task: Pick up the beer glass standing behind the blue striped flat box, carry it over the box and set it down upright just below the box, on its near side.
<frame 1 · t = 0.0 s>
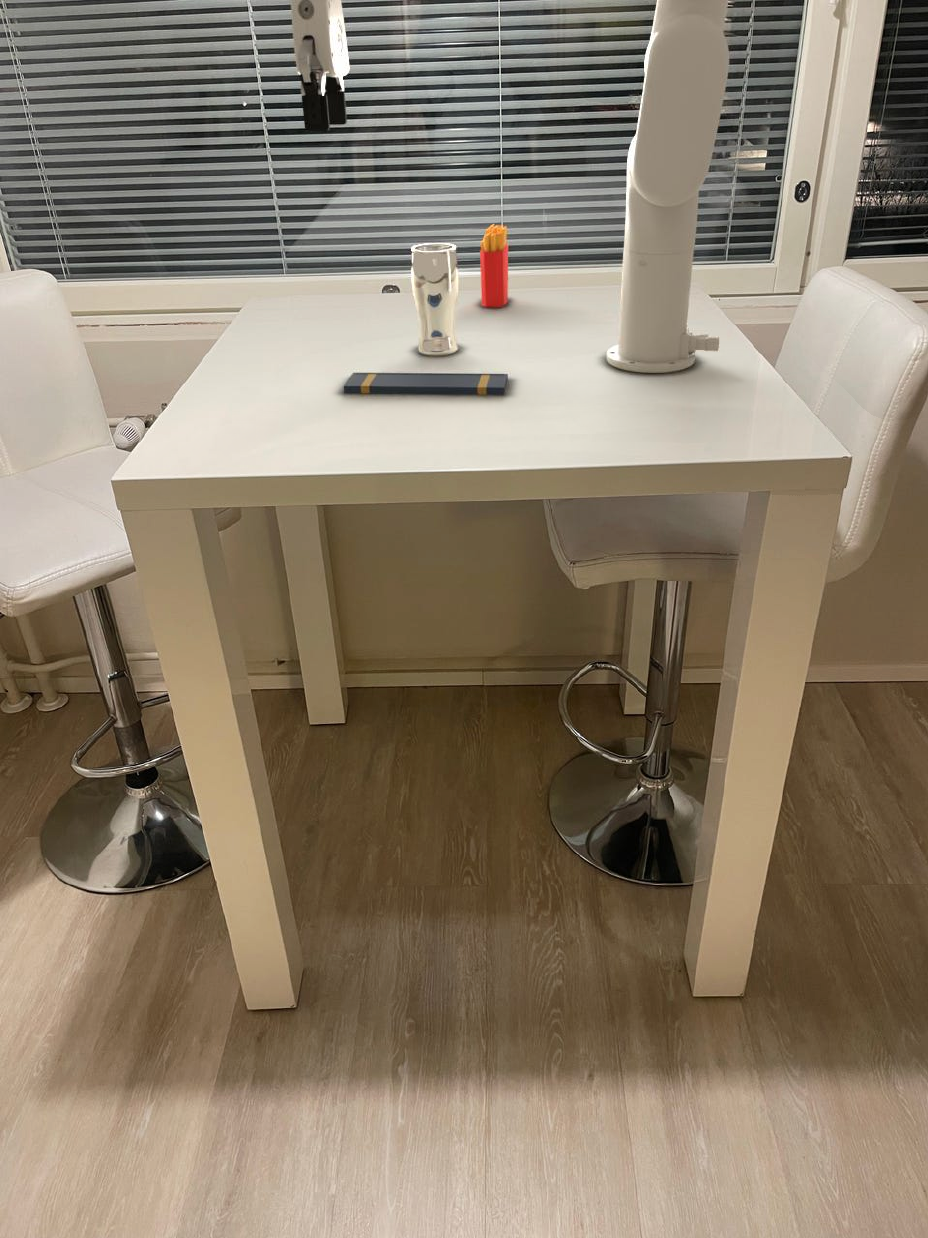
hand: (326, 127, 127), 31 cm above the table, tool pointing down, fingers open, 9 cm apart
blue striped flat box: (426, 386, 131), on the table
french fries: (494, 304, 170), on the table
beer glass: (438, 351, 146), on the table
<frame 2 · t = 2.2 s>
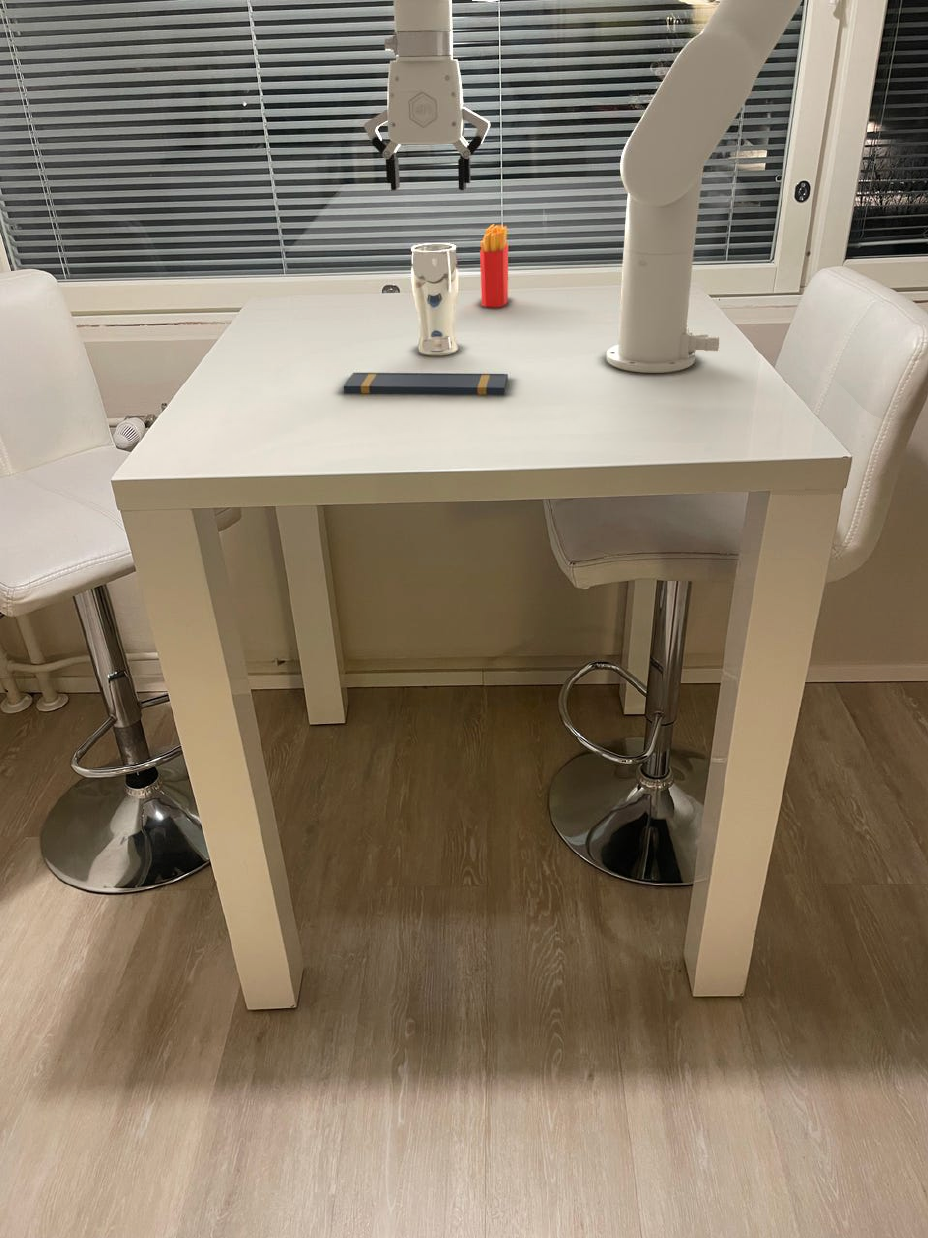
hand: (428, 188, 134), 23 cm above the table, tool pointing down, fingers open, 9 cm apart
nothing on the table moved.
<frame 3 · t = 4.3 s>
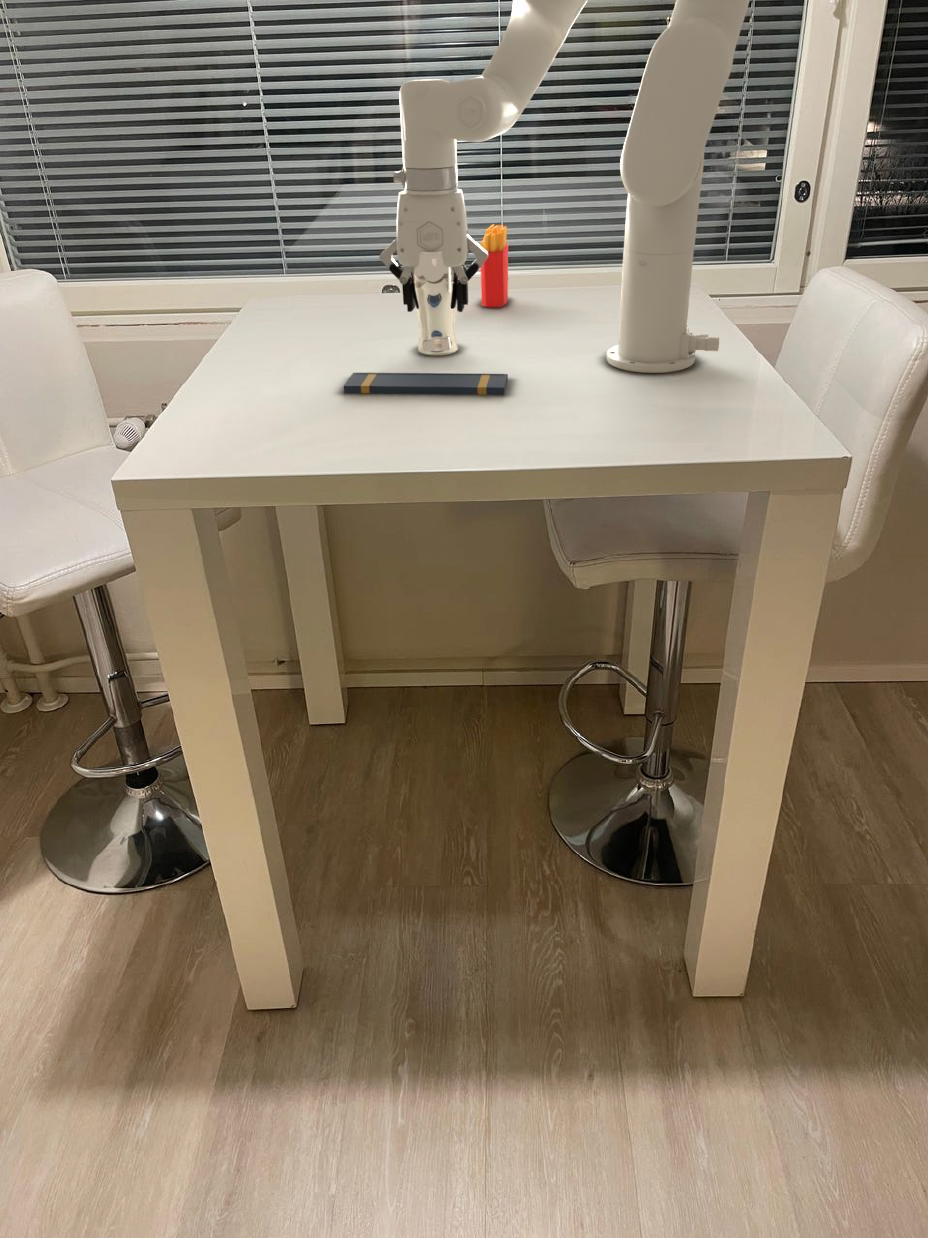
hand: (436, 308, 142), 6 cm above the table, tool pointing down, fingers closed on beer glass, 7 cm apart
beer glass: (438, 351, 146), on the table, touching gripper
everything else where it was.
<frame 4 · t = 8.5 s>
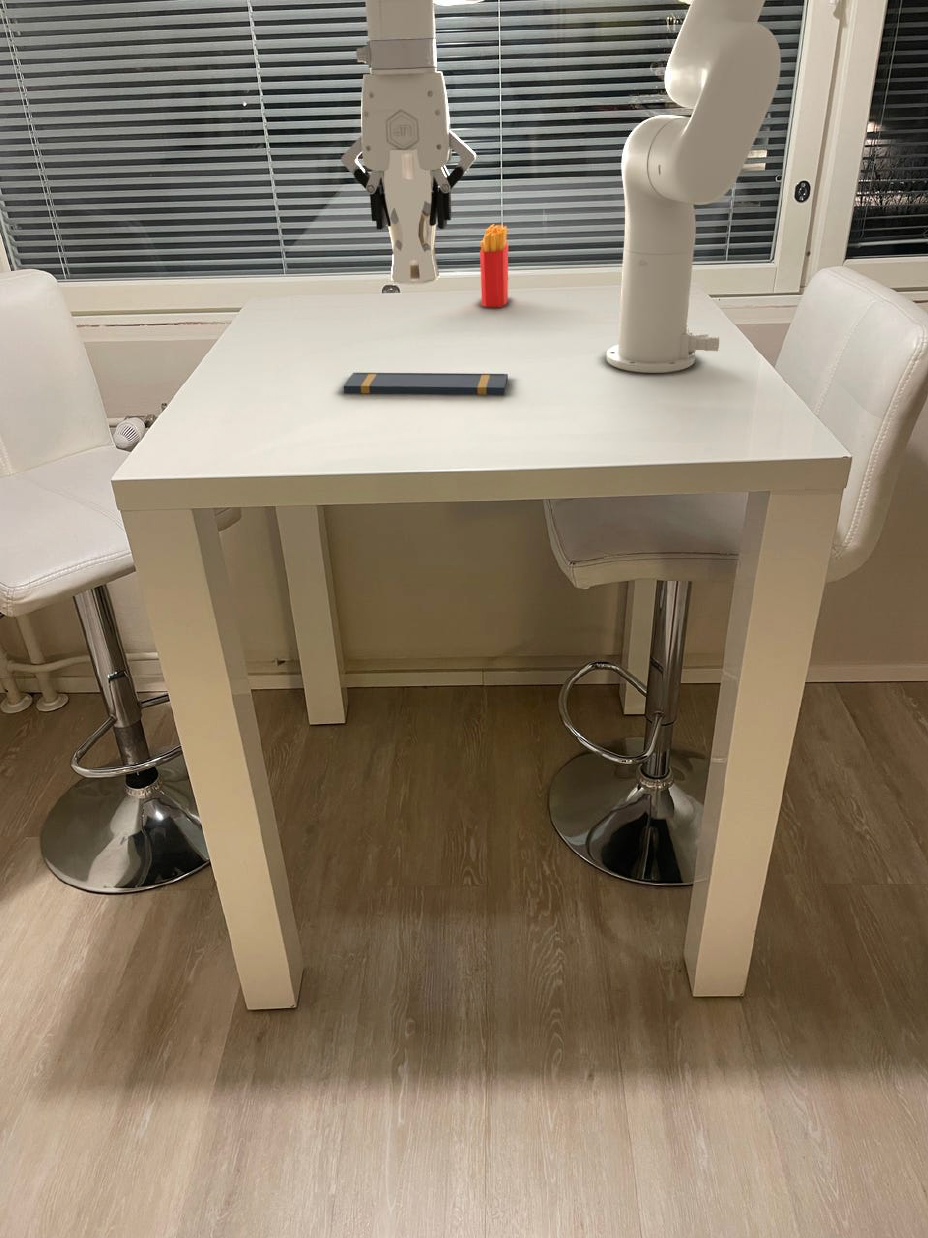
hand: (412, 226, 116), 21 cm above the table, tool pointing down, fingers closed on beer glass, 6 cm apart
beer glass: (415, 280, 119), point 15 cm above the table, touching gripper
everything else where it was.
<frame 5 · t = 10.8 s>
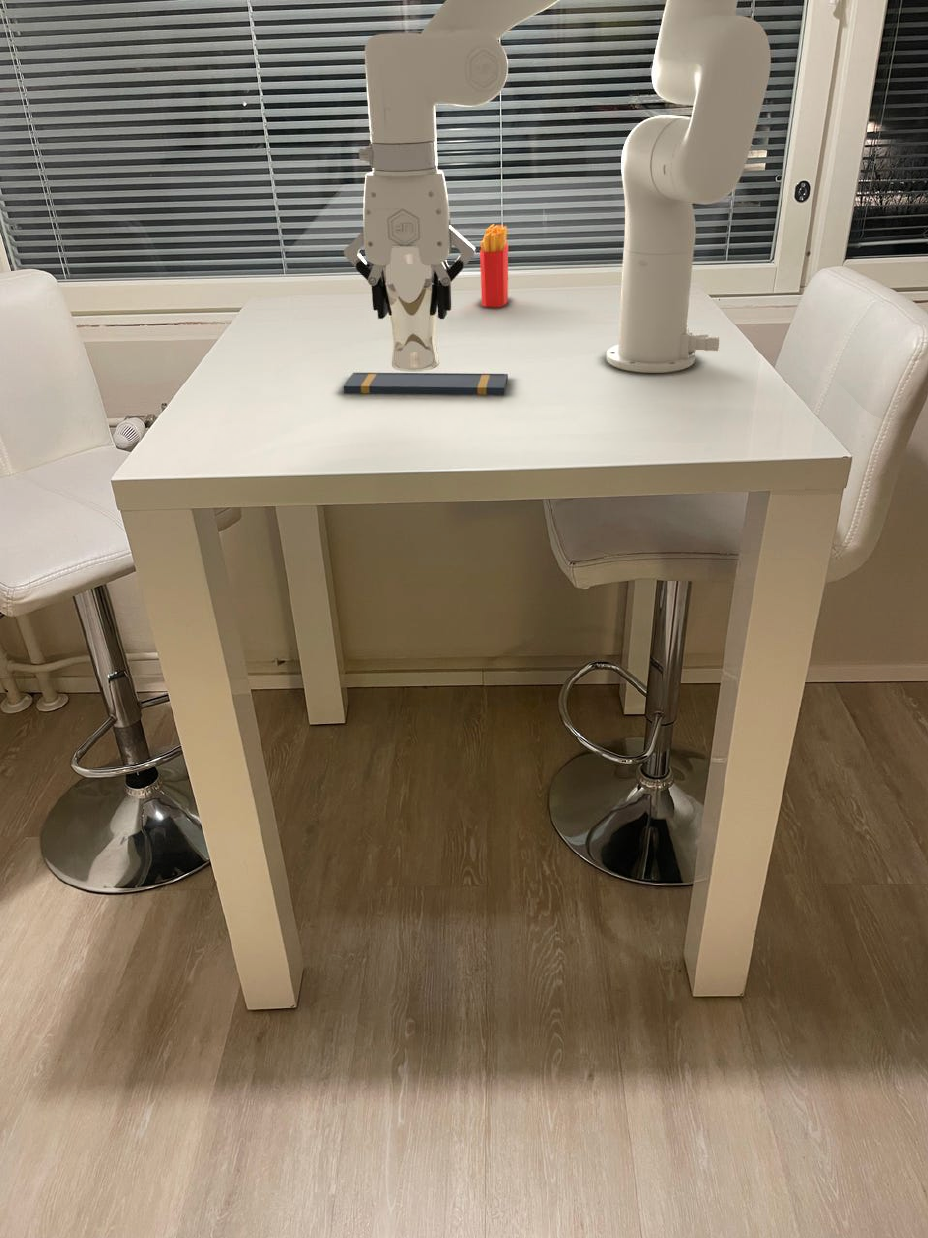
hand: (412, 315, 118), 12 cm above the table, tool pointing down, fingers closed on beer glass, 6 cm apart
beer glass: (415, 366, 121), point 5 cm above the table, touching gripper
everything else where it was.
when the fingers open (6 cm above the table, at t = 12.7 s): beer glass stays where it is, on the table.
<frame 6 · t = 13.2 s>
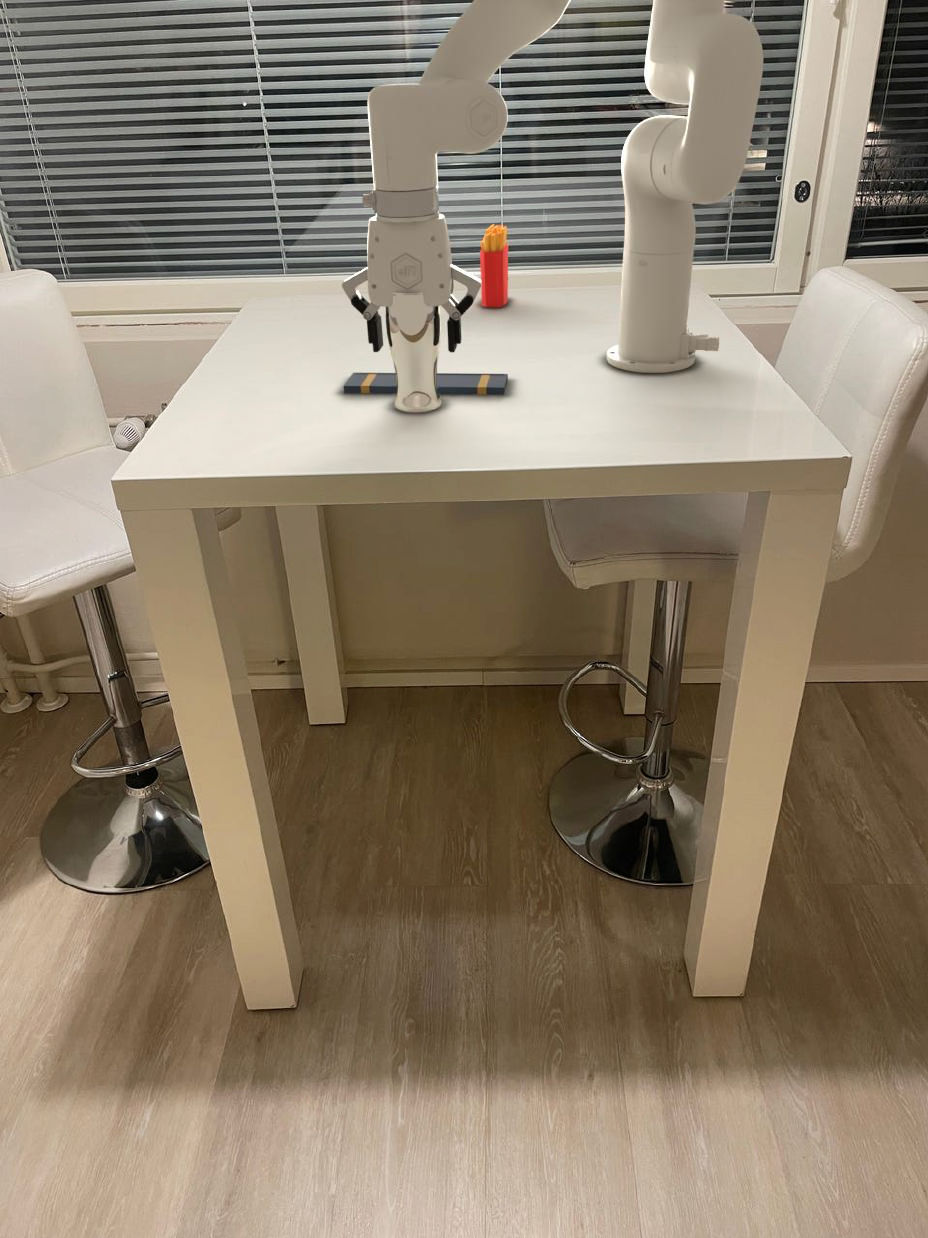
hand: (415, 349, 120), 7 cm above the table, tool pointing down, fingers open, 9 cm apart
beer glass: (418, 406, 124), on the table
everything else where it was.
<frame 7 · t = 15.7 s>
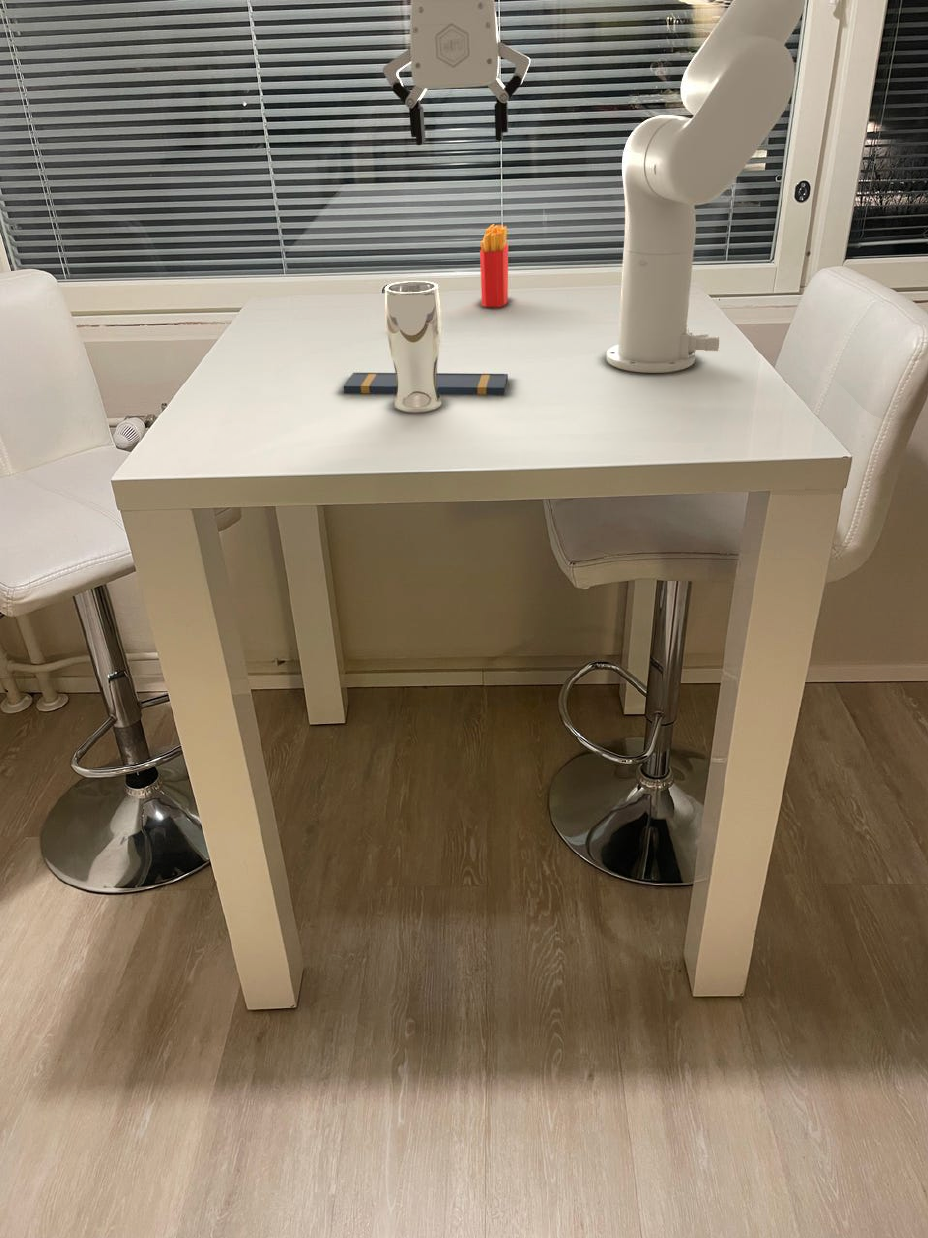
hand: (460, 141, 115), 30 cm above the table, tool pointing down, fingers open, 9 cm apart
nothing on the table moved.
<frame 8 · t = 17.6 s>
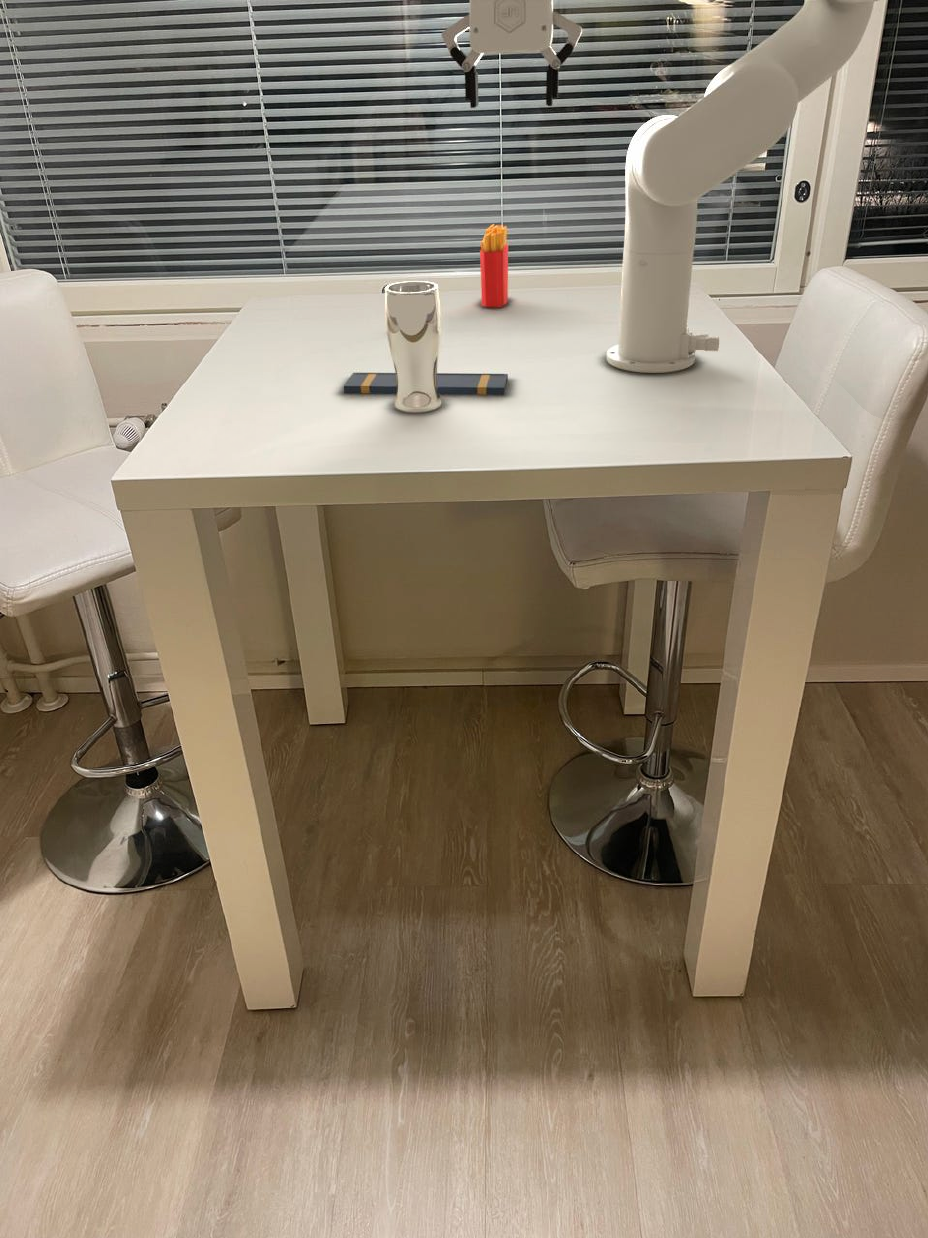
hand: (511, 105, 121), 33 cm above the table, tool pointing down, fingers open, 9 cm apart
nothing on the table moved.
at the end: beer glass inside the target area on the table beside the blue striped flat box (1.4 cm from its centre), on the table; beer glass tilted 0°; the gripper is holding nothing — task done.
